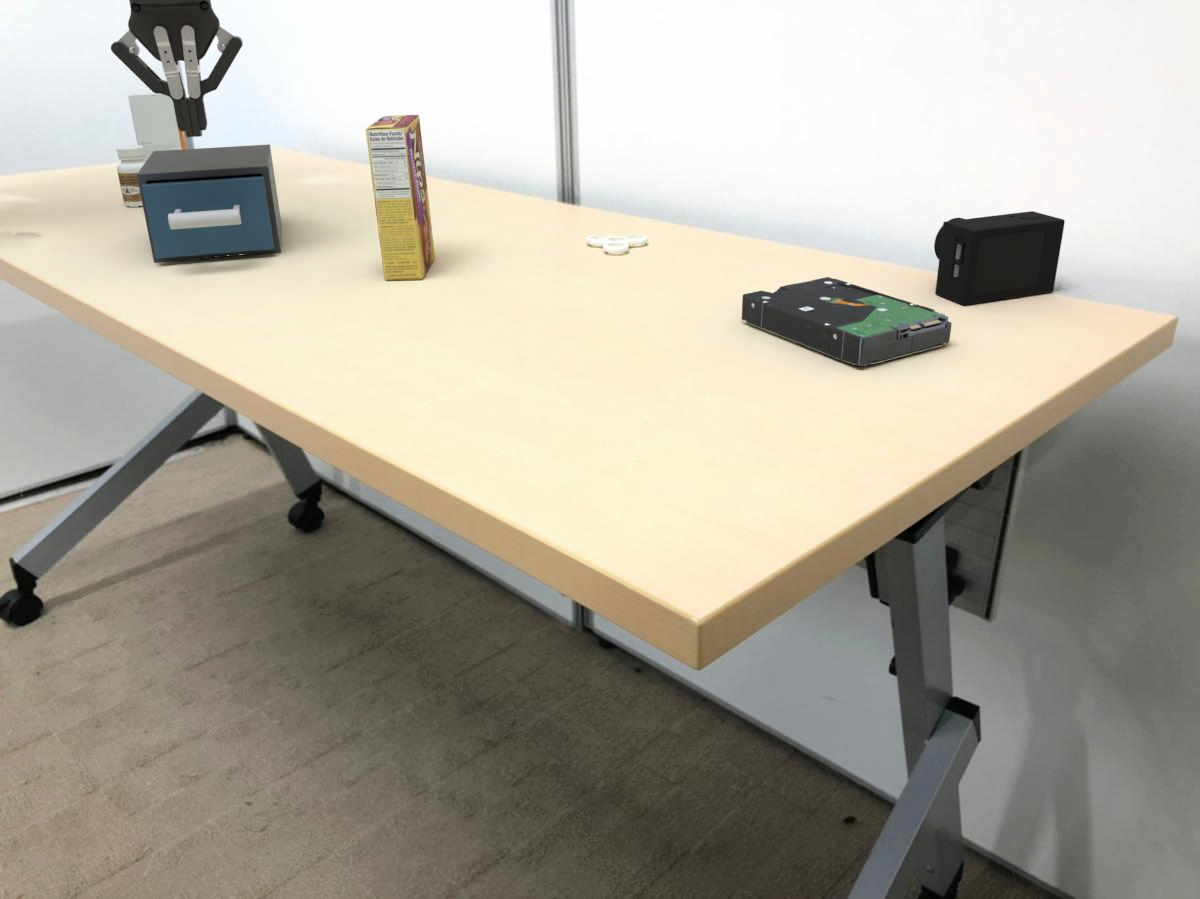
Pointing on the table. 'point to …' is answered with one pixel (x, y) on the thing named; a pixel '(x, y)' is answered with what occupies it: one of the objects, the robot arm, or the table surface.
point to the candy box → (401, 196)
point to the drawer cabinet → (214, 165)
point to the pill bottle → (130, 173)
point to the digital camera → (997, 257)
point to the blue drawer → (208, 215)
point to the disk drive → (846, 320)
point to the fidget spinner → (616, 242)
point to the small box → (155, 122)
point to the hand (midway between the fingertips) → (194, 135)
